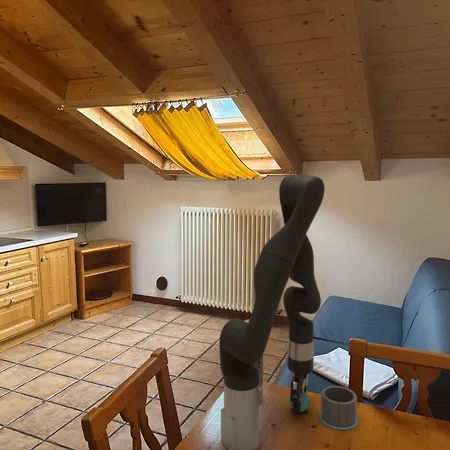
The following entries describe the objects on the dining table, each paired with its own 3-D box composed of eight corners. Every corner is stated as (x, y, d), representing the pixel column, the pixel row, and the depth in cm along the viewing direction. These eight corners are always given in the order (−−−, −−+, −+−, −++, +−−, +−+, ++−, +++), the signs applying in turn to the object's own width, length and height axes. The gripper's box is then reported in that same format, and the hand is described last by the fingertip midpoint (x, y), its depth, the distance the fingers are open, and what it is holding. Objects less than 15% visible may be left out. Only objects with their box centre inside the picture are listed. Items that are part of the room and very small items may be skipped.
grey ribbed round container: (338, 434, 117) (339, 409, 116) (310, 414, 126) (311, 391, 125) (366, 422, 122) (367, 398, 121) (338, 403, 132) (339, 381, 130)
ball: (297, 418, 124) (298, 399, 123) (284, 408, 129) (285, 389, 129) (313, 412, 127) (314, 393, 126) (300, 402, 132) (300, 384, 132)
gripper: (308, 366, 118) (307, 421, 120) (317, 346, 131) (316, 395, 133) (282, 362, 121) (281, 415, 123) (293, 342, 134) (292, 391, 136)
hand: (299, 405), depth 128 cm, fingers open, 8 cm apart
